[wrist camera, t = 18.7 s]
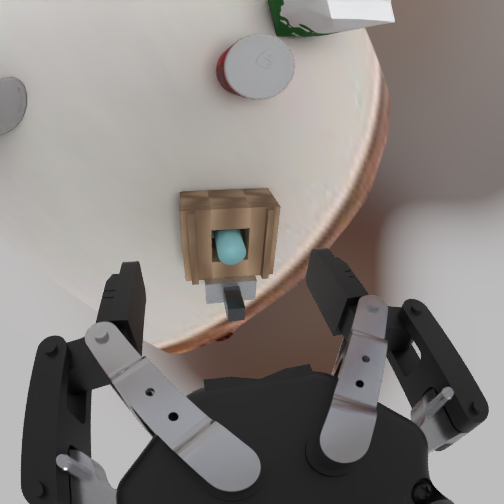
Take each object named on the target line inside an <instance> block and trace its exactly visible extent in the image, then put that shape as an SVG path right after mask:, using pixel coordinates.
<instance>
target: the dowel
mask: <svg viewBox="0 0 504 504" xmlns="http://www.w3.org/2000/svg"><path fill="white" fill-rule="evenodd" d="M213 231H214V237H215V242H216V247H217V252H218V257H219V259H220V261H221V262H223V263H224V264H227V265H234V264H237V263H239V262H241V261H242V260H243V259H244V257H245V255H246V248H245V246H244V243H243V240H242V237H241V234H240V231H239V229H228V230H213Z"/></svg>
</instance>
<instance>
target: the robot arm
mask: <svg viewBox="0 0 504 504" xmlns="http://www.w3.org/2000/svg"><path fill="white" fill-rule="evenodd" d="M26 102H27V97H26V91H25V88H24V86H23V84H22V83H21V82H20V81H19V80H18V79H16V78H12V77H9V78H2V79H0V135H2V134H4V133H6V132H8V131H10V130H12V129H13V128H15V127H16V126H17V125H18V123H19V122H20V121H21V119H22V117H23V115H24V112H25V109H26ZM306 282H307V286H308V288H309V290H310V292H311V294H312V296H313V298H314V300H315V301H316V303H317V305H318V307H319V309H320V311H321V313H322V315H323V317H324V319H325V321H326V322H327V324H328V326H329V328H330V330H331V332H332V334H333V336H336V335H340V334H342V335H343V336H344V339H343V341H342V344H341V347H340V350H339V353H338V356H337V360H336V363H335V366H334V369H333V371H332V374H331V375H330V374H327V373H323V372H317V371H312V369H311V366H310V364H307V365H302V366H297V367H292V368H287V369H283V370H281V371H279V372H276V373H274V374H272V375H269V376H267V377H264V378H261V379H251V378H250V379H249V378H238V377H225V378H216V379H206V380H204V386H205V387H203V388H200V389H198V390H196V391H193V392H192V393H191V394H189V395H187V396H185V395H184V394H183V393H182V392H180V390H179V389H178V388H176V386H175V385H173V384H172V383H171V382H170V380H169V379H167V378H166V376H164V375H163V373H162V372H161V371H160V370H159V369H158V368H157V367H156V366H155V365H154V364H153V363H152V362H151V361H150V360H149V359H148V358H147V357H142V343H143V328H144V315H145V304H146V293H145V286H144V282H143V277H142V273H141V268H140V264H139V262H138V261H136V262H123V263H122V266H121V270H120V274H112V276H111V277H110V278H109V279H108V280H107V282H106V285H105V288H104V292H103V296H102V300H101V304H100V308H99V312H98V316H97V320H96V324H94V325H92V326H91V327H90V328H89V329H88V330H87V332H86V334H85V337H83V338H81V339H78V340H75V341H71V342H68V343H66V342H65V340H64V339H63V338H62V337H60V336H50V337H47V338H46V339H44V340H43V341H42V342H41V343H40V344H39V346H38V349H37V353H36V357H35V361H34V366H33V370H32V376H31V380H30V386H29V391H28V397H27V404H26V411H25V419H24V427H23V439H22V454H21V489H22V493H23V495H24V497H25V499H26V500H27V501H28V503H29V504H454V503H453V502H452V501H451V500H449V499H448V498H446V497H445V496H444V495H442V494H441V493H440V492H439V491H438V490H437V489H436V488H435V487H434V485H433V484H432V482H431V480H430V477H429V471H428V453H430V452H431V451H433V450H436V451H442V450H444V449H446V448H447V447H449V446H450V445H452V444H453V443H455V442H456V441H458V440H459V439H460V438H462V437H463V436H465V435H466V434H467V433H469V432H470V431H471V430H473V429H474V428H475V427H477V426H478V425H479V424H480V423H482V422H483V421H484V420H485V419H486V418H487V416H488V412H489V409H488V404H487V401H486V399H485V397H484V396H483V394H482V392H481V391H480V389H479V387H478V385H477V383H476V381H475V380H474V378H473V376H472V375H471V373H470V371H469V370H468V368H467V366H466V365H465V363H464V362H463V360H462V358H461V357H460V355H459V354H458V352H457V351H456V349H455V347H454V346H453V344H452V343H451V341H450V340H449V338H448V337H447V335H446V334H445V333H444V331H443V329H442V328H441V326H440V325H439V324H438V322H437V321H436V320H435V318H434V317H433V315H432V314H431V312H430V311H429V310H428V308H427V307H426V306H425V305H424V304H423V303H422V302H420V301H418V300H415V299H408V300H406V301H405V302H404V304H403V305H402V307H389V306H387V304H386V303H385V302H384V301H383V300H382V299H381V298H379V297H377V296H373V295H369V294H368V292H367V291H366V290H365V288H364V287H363V286H362V284H361V283H360V281H359V280H358V278H357V277H355V274H354V273H353V272H351V269H350V268H349V266H348V265H347V264H346V263H345V262H344V261H342V260H341V259H340V258H338V257H337V258H335V257H334V255H333V254H332V252H331V251H330V250H329V249H328V248H322V249H313V250H312V251H311V254H310V259H309V264H308V269H307V274H306ZM413 341H414V342H415V343H416V345H417V346H418V348H419V350H420V352H421V360H420V358H419V356H418V355H417V353H416V351H415V349H414V348H413V346H412V343H413ZM386 357H387V358H388V360H389V362H390V364H391V366H392V368H393V370H394V372H395V374H396V376H397V378H398V380H399V382H400V384H401V386H402V388H403V390H404V392H405V395H406V397H407V399H408V401H409V403H410V405H411V407H412V410H411V420H409V419H407V418H405V417H403V416H402V415H399V414H398V413H396V412H394V411H393V410H391V409H389V408H387V407H386V406H384V405H382V404H381V403H379V402H377V401H378V397H379V391H380V386H381V382H382V376H383V371H384V365H385V359H386ZM109 384H110V385H111V386H112V388H113V389H114V390H115V392H116V393H117V394H118V396H119V397H120V398H121V400H122V401H123V402H124V404H125V405H126V406H127V407H128V409H129V410H130V411H131V412H132V413H133V415H134V416H135V417H136V419H137V420H138V421H139V422H140V424H141V425H142V426H143V427H144V428H145V430H146V431H147V432H148V433H149V434H150V435H151V436H152V437H153V438H152V440H151V441H150V443H149V444H148V445H147V447H146V448H145V449H144V450H143V452H142V453H141V454H140V456H139V457H138V459H137V460H136V461H135V462H134V464H133V465H132V466H131V468H130V469H129V470H128V472H127V473H126V474H125V475H124V477H123V478H122V480H121V481H120V483H119V485H118V488H117V489H114V488H112V487H111V485H110V484H109V482H108V480H107V478H106V474H105V471H104V469H103V468H102V466H101V465H100V464H98V463H97V462H96V461H94V460H93V459H91V434H90V433H91V432H90V431H91V430H90V429H91V428H90V427H91V424H90V422H91V393H92V389H95V388H99V387H102V386H105V385H109Z"/></svg>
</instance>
